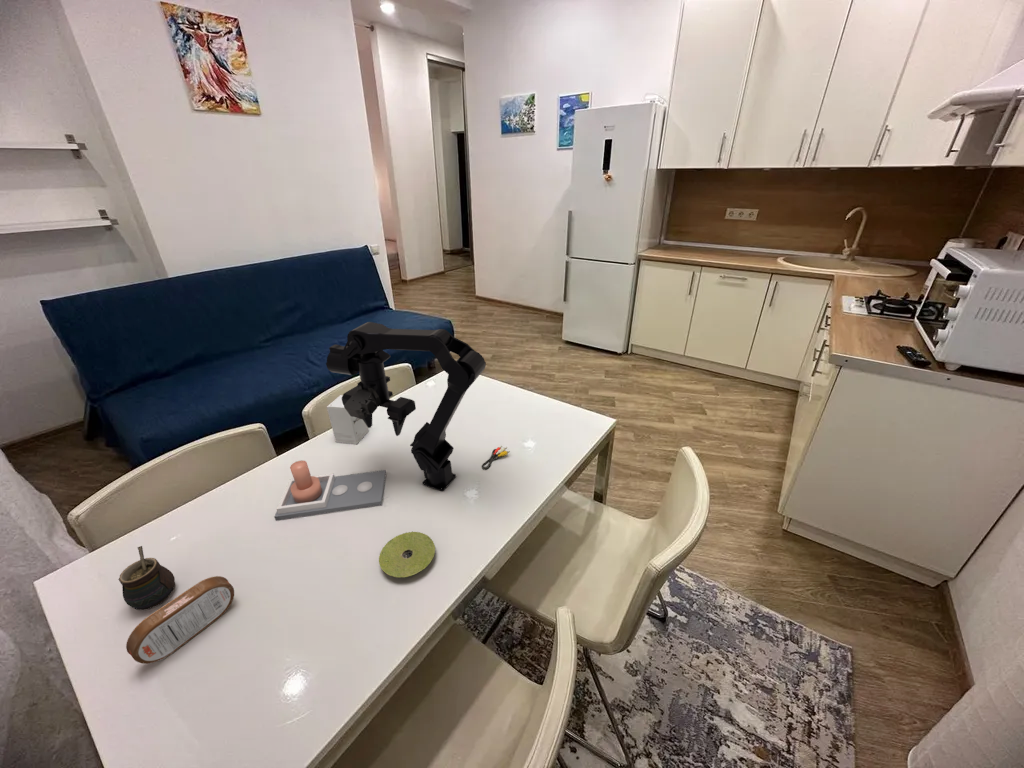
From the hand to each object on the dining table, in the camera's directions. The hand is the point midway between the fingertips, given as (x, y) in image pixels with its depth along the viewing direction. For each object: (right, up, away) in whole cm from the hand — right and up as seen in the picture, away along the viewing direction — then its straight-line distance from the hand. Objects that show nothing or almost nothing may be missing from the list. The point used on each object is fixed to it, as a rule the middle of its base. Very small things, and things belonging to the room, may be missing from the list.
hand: (383, 431), depth 103 cm
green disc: (+11, -25, -19) cm, 33 cm away
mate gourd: (-36, -29, -26) cm, 53 cm away
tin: (-23, -32, -32) cm, 51 cm away
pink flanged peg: (-18, -15, -3) cm, 23 cm away
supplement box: (-16, -4, +21) cm, 27 cm away
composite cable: (+27, -10, +10) cm, 31 cm away
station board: (-12, -16, -2) cm, 20 cm away
